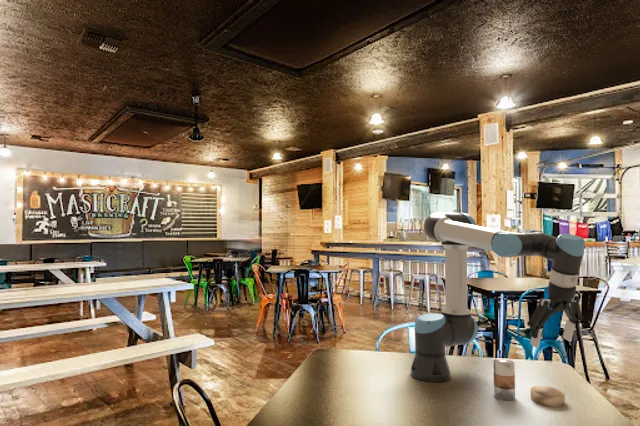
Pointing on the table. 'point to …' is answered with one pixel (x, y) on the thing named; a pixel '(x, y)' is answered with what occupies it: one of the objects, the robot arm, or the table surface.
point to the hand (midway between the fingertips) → (550, 342)
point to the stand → (547, 396)
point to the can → (504, 379)
